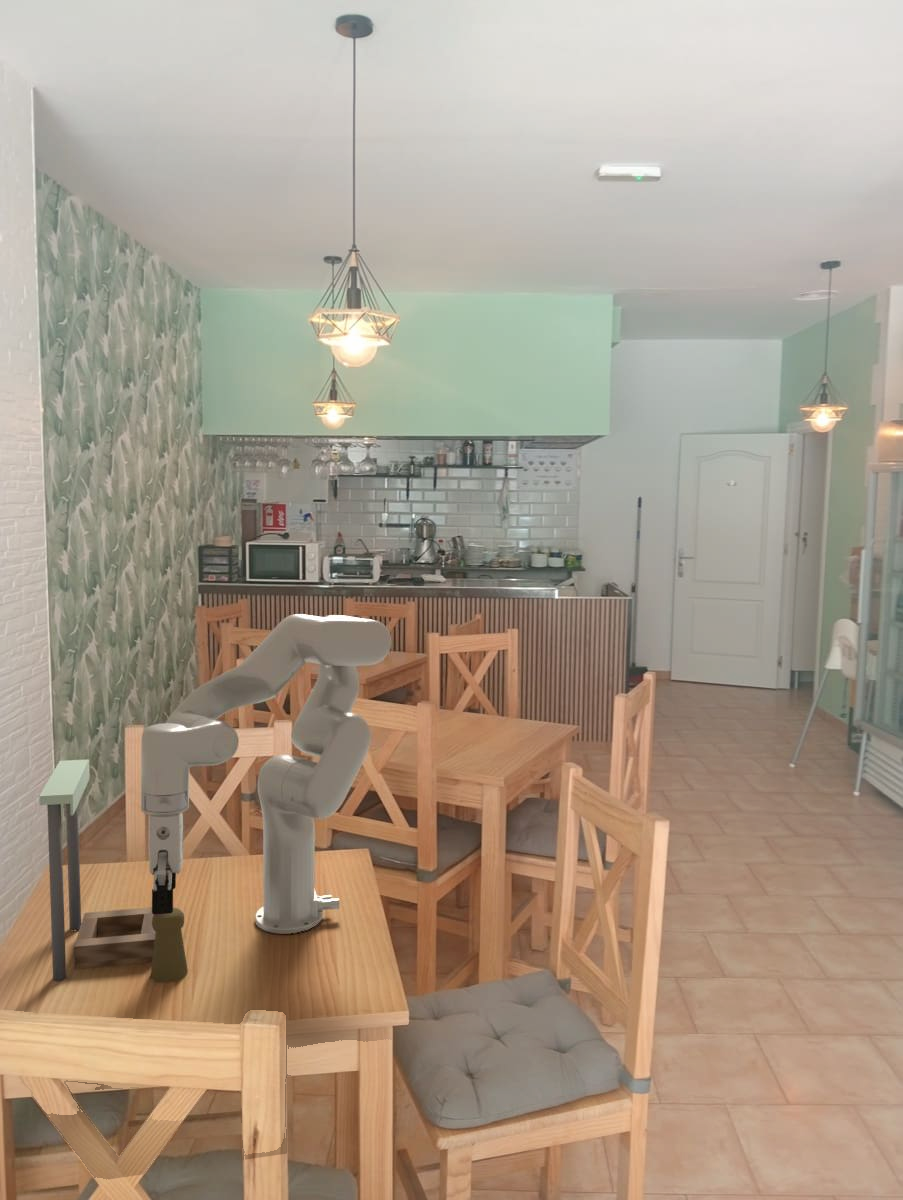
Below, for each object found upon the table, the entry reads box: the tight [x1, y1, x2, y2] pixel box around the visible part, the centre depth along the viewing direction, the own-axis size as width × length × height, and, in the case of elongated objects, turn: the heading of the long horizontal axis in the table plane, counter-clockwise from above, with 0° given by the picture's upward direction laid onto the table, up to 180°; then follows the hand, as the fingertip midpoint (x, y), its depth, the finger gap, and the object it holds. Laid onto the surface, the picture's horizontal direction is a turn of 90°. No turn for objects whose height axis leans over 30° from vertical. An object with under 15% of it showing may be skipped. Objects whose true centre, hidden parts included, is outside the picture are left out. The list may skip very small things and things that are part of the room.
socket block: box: [73, 906, 156, 970], centre depth 167 cm, size 13×13×4 cm
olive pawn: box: [149, 906, 189, 984], centre depth 158 cm, size 6×6×11 cm
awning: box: [39, 759, 91, 982], centre depth 164 cm, size 5×20×32 cm, turn 14°
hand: (164, 900), depth 157 cm, fingers open, 9 cm apart
